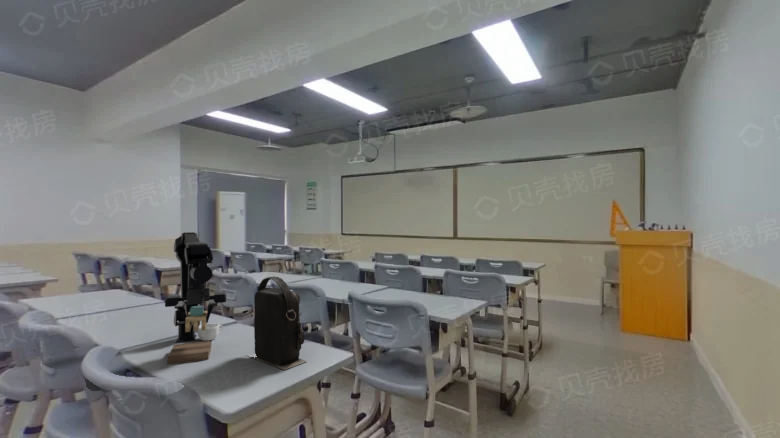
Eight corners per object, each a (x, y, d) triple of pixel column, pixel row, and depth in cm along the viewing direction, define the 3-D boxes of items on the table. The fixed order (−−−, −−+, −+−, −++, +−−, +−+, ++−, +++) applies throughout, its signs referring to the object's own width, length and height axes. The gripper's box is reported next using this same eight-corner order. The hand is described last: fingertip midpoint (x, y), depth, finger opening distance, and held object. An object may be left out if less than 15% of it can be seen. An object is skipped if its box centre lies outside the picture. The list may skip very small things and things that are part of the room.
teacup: (203, 343, 138) (204, 329, 138) (193, 340, 142) (193, 326, 142) (228, 337, 146) (228, 323, 147) (217, 333, 151) (217, 321, 151)
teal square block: (191, 313, 127) (191, 306, 127) (203, 312, 129) (203, 305, 129) (189, 316, 124) (189, 309, 124) (202, 315, 125) (203, 308, 125)
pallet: (188, 324, 130) (188, 312, 130) (207, 322, 132) (207, 310, 132) (185, 332, 121) (185, 318, 121) (205, 330, 123) (205, 316, 123)
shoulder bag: (244, 355, 125) (244, 275, 126) (267, 348, 133) (267, 272, 133) (284, 370, 112) (284, 280, 112) (307, 362, 119) (307, 277, 120)
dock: (174, 351, 129) (174, 344, 129) (211, 347, 134) (211, 340, 134) (167, 364, 117) (167, 356, 117) (208, 359, 122) (208, 351, 122)
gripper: (162, 284, 115) (161, 333, 115) (225, 281, 123) (225, 326, 123) (167, 279, 126) (167, 324, 125) (226, 276, 133) (226, 318, 133)
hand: (196, 323), depth 126 cm, fingers closed on pallet, 6 cm apart
